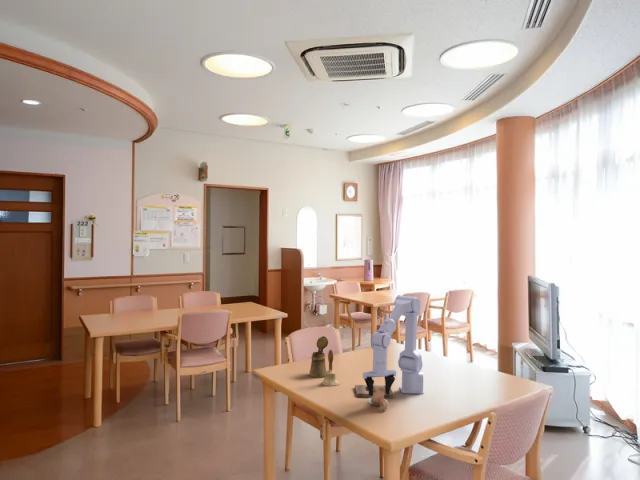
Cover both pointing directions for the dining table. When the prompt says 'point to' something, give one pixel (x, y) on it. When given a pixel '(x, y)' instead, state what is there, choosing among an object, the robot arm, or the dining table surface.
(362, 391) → the walnut stand
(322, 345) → the wooden mug
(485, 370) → the dining table surface
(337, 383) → the hand bell
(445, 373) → the dining table surface
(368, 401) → the sage mat
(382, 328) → the robot arm
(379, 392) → the peach rounded piece
